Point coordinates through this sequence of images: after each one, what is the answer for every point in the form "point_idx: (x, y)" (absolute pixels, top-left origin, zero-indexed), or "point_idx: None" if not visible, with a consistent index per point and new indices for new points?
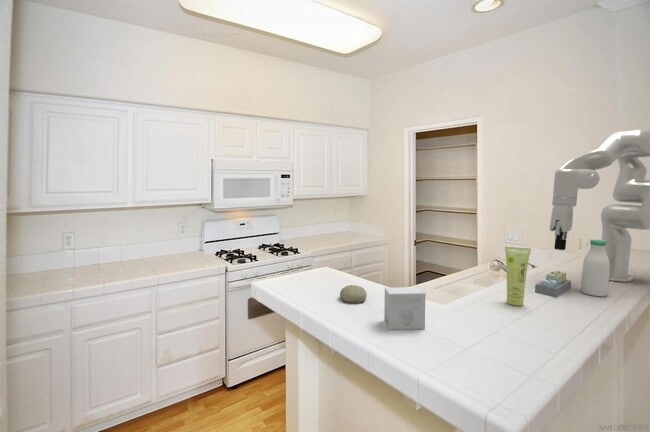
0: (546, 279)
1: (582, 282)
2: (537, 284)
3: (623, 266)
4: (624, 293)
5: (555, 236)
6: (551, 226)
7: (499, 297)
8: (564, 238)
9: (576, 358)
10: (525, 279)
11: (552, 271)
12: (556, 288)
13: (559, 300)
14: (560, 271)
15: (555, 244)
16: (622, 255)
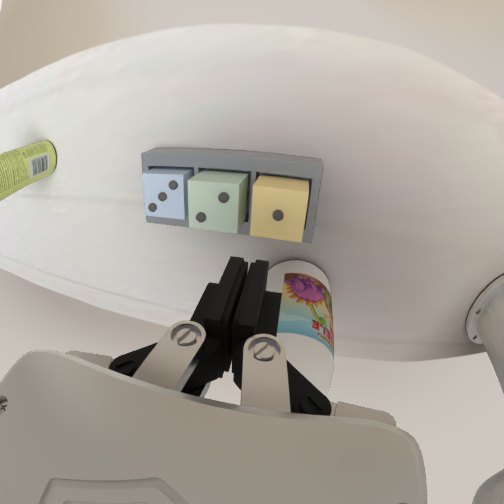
0: (168, 184)
1: (273, 282)
2: (144, 159)
3: (489, 357)
4: (354, 339)
5: (159, 341)
6: (5, 389)
7: (53, 112)
8: (208, 384)
9: (9, 270)
10: (2, 199)
11: (271, 188)
12: (150, 219)
13: (140, 223)
14: (302, 218)
15: (221, 282)
16: (500, 381)
